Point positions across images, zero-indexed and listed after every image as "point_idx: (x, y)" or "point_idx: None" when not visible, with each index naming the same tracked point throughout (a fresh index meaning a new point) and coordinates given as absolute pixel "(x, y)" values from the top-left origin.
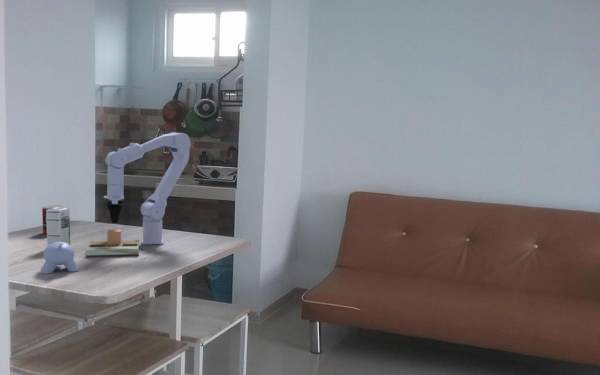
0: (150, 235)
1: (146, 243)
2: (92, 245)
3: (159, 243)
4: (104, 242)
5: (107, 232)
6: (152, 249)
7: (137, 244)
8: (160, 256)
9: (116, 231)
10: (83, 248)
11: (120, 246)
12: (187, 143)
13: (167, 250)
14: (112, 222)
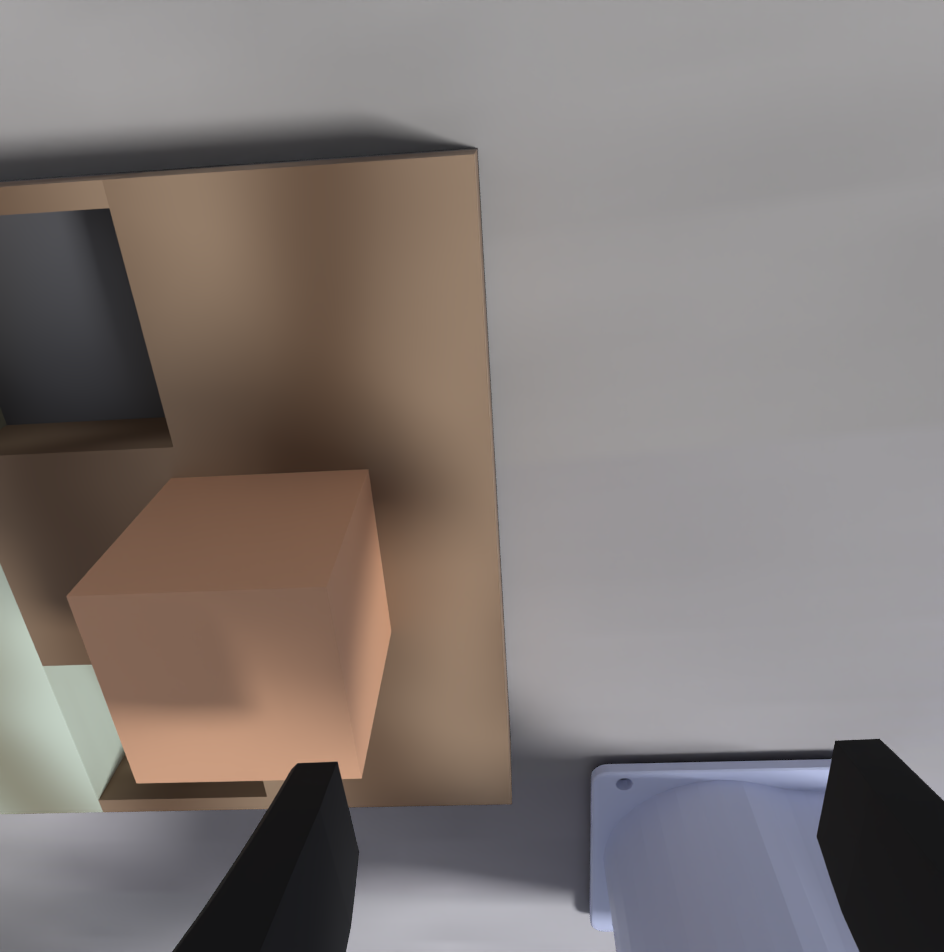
0: (619, 929)
1: (592, 810)
2: (127, 241)
3: (591, 901)
4: (317, 420)
5: (76, 589)
6: None
7: (206, 799)
8: (35, 893)
9: (138, 729)
10: (414, 20)
11: (47, 646)
12: None
13: None
14: (293, 780)
